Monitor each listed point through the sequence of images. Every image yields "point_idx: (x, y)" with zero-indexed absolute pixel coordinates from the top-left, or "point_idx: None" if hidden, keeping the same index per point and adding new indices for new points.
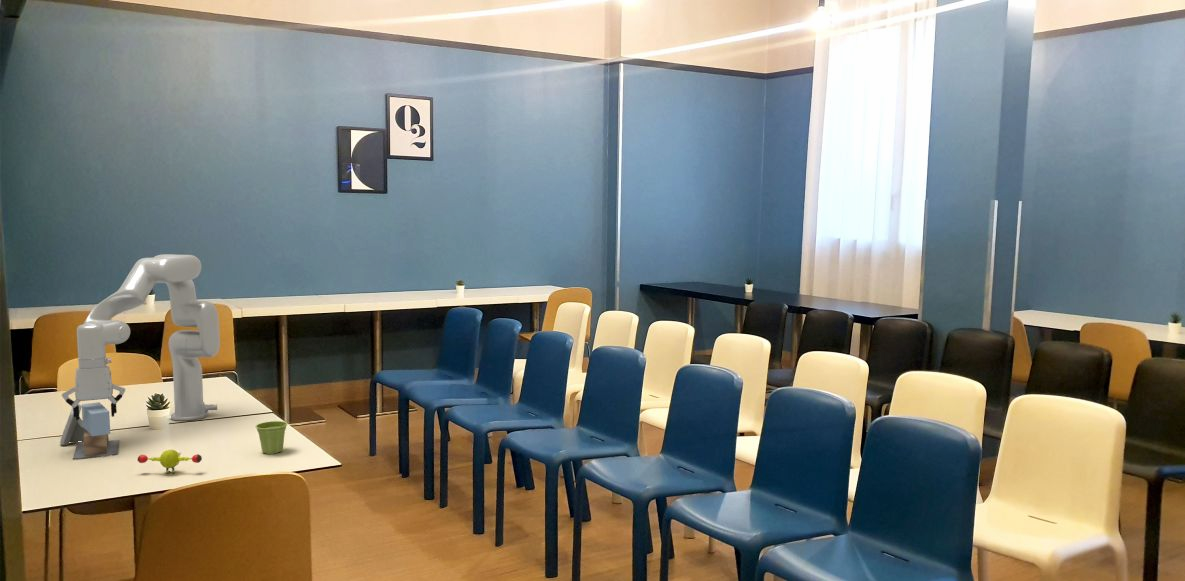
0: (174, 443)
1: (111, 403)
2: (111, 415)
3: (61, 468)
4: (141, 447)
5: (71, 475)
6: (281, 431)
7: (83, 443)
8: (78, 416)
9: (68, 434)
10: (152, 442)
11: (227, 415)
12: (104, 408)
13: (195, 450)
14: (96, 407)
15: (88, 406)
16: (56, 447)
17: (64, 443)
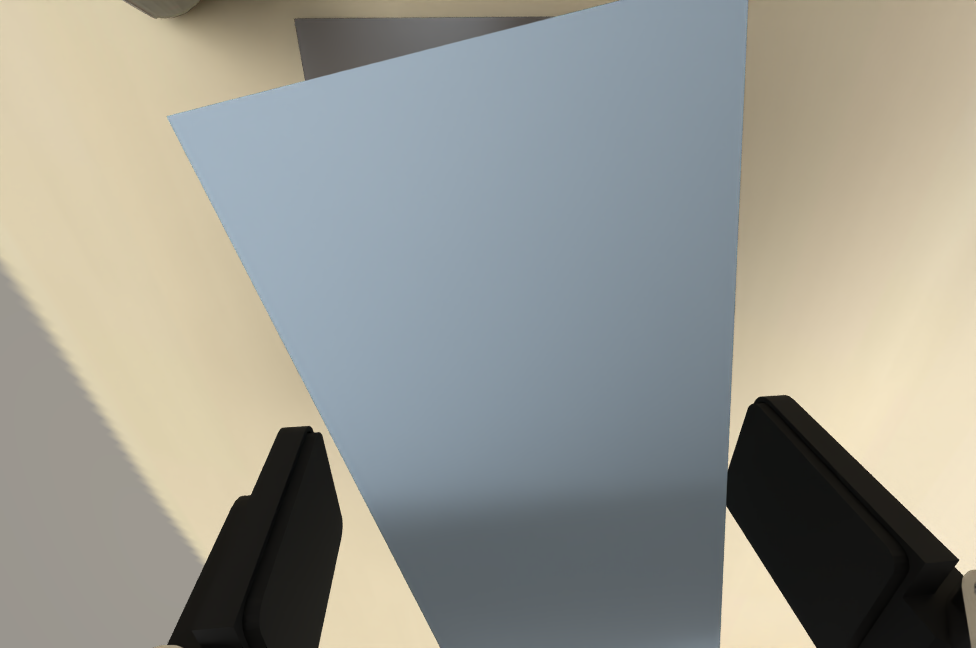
0: (959, 299)
1: (882, 598)
2: (727, 507)
3: (349, 561)
4: (762, 321)
5: (416, 640)
6: None
7: (359, 35)
8: (333, 566)
9: (165, 6)
10: (867, 211)
11: None
12: (700, 645)
13: (955, 472)
14: (596, 570)
15: (444, 468)
16: (112, 27)
17: (170, 17)
